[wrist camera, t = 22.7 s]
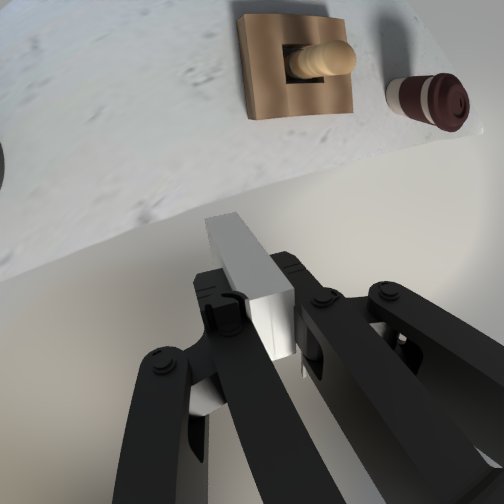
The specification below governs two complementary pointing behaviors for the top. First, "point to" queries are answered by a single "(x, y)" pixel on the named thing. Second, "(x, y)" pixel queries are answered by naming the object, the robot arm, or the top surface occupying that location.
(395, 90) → the coffee cup
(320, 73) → the oak peg
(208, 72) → the top surface
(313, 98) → the walnut socket block
